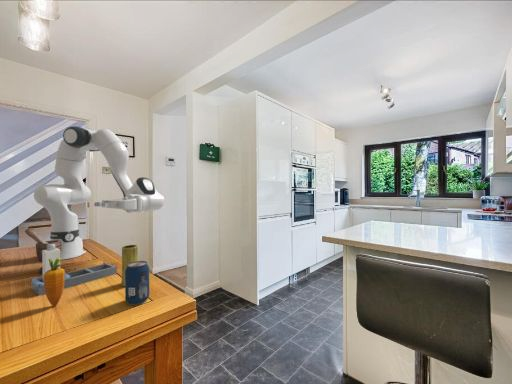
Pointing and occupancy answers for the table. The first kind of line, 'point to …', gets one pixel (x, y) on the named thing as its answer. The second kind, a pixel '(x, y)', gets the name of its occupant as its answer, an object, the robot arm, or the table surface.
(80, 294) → the table surface
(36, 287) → the ladder grid frame
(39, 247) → the mortar and pestle
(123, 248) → the vase
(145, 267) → the soda can
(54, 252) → the capped white pillar
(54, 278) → the carrot
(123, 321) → the table surface
